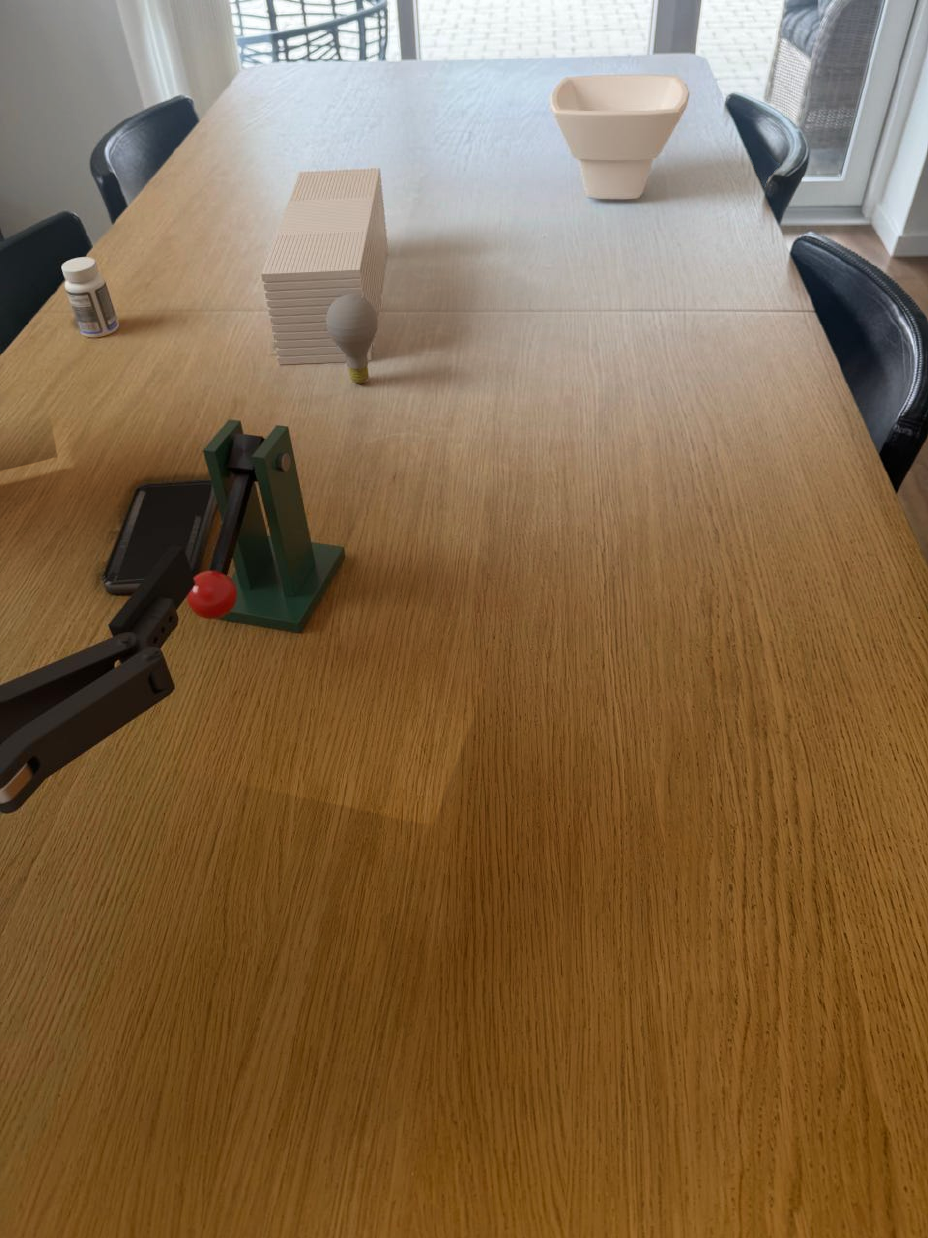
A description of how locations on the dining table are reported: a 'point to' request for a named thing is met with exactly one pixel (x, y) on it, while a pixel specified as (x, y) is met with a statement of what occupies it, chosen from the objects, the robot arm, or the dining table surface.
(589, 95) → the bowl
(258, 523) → the switch bracket
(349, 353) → the light bulb
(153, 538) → the phone
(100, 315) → the pill bottle
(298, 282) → the beige tall block
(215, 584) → the switch lever
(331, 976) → the dining table surface
